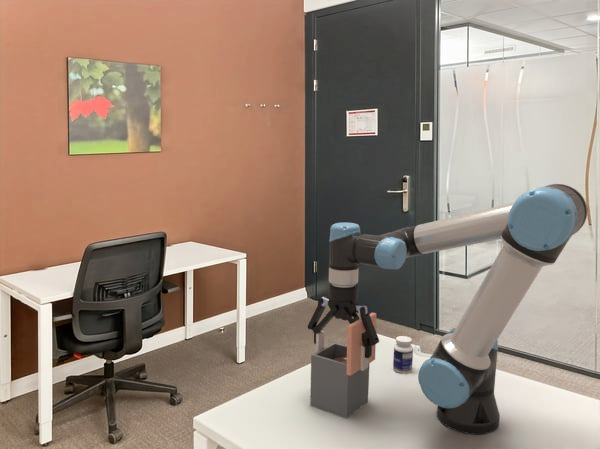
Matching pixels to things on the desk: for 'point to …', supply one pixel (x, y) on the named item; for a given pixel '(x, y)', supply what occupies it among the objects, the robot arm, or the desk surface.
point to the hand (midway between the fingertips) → (341, 362)
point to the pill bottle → (403, 355)
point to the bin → (337, 382)
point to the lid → (357, 345)
